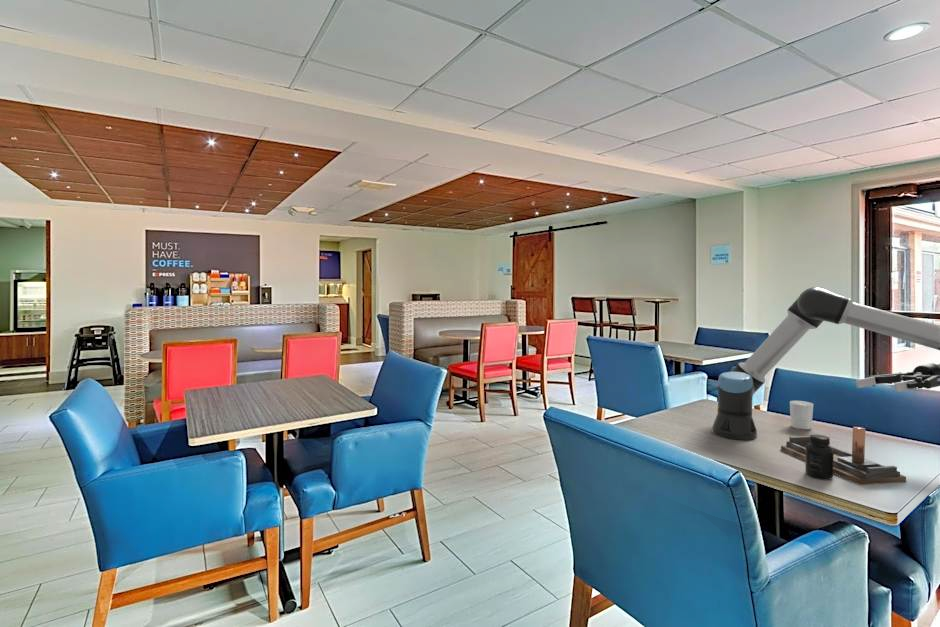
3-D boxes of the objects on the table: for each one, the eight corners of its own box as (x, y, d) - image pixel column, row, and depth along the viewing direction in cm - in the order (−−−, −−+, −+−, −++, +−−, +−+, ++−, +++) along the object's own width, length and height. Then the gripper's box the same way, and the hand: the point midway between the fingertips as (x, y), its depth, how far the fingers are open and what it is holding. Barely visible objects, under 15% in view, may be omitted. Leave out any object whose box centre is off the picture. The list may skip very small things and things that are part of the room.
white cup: (817, 430, 191) (818, 405, 191) (797, 430, 192) (798, 405, 191) (804, 424, 199) (804, 400, 199) (784, 424, 199) (785, 400, 199)
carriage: (879, 470, 144) (880, 431, 144) (857, 471, 144) (859, 432, 143) (857, 462, 151) (859, 424, 151) (837, 463, 150) (838, 425, 150)
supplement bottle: (839, 479, 142) (840, 439, 142) (817, 480, 142) (818, 440, 141) (820, 470, 149) (821, 432, 149) (799, 471, 149) (800, 433, 148)
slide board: (905, 481, 140) (906, 466, 140) (859, 484, 139) (859, 469, 139) (820, 447, 170) (820, 435, 170) (781, 450, 169) (781, 437, 168)
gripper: (979, 390, 146) (916, 401, 144) (899, 383, 171) (844, 393, 169) (974, 365, 147) (911, 376, 145) (894, 362, 172) (840, 372, 170)
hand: (875, 385), depth 157 cm, fingers open, 13 cm apart
